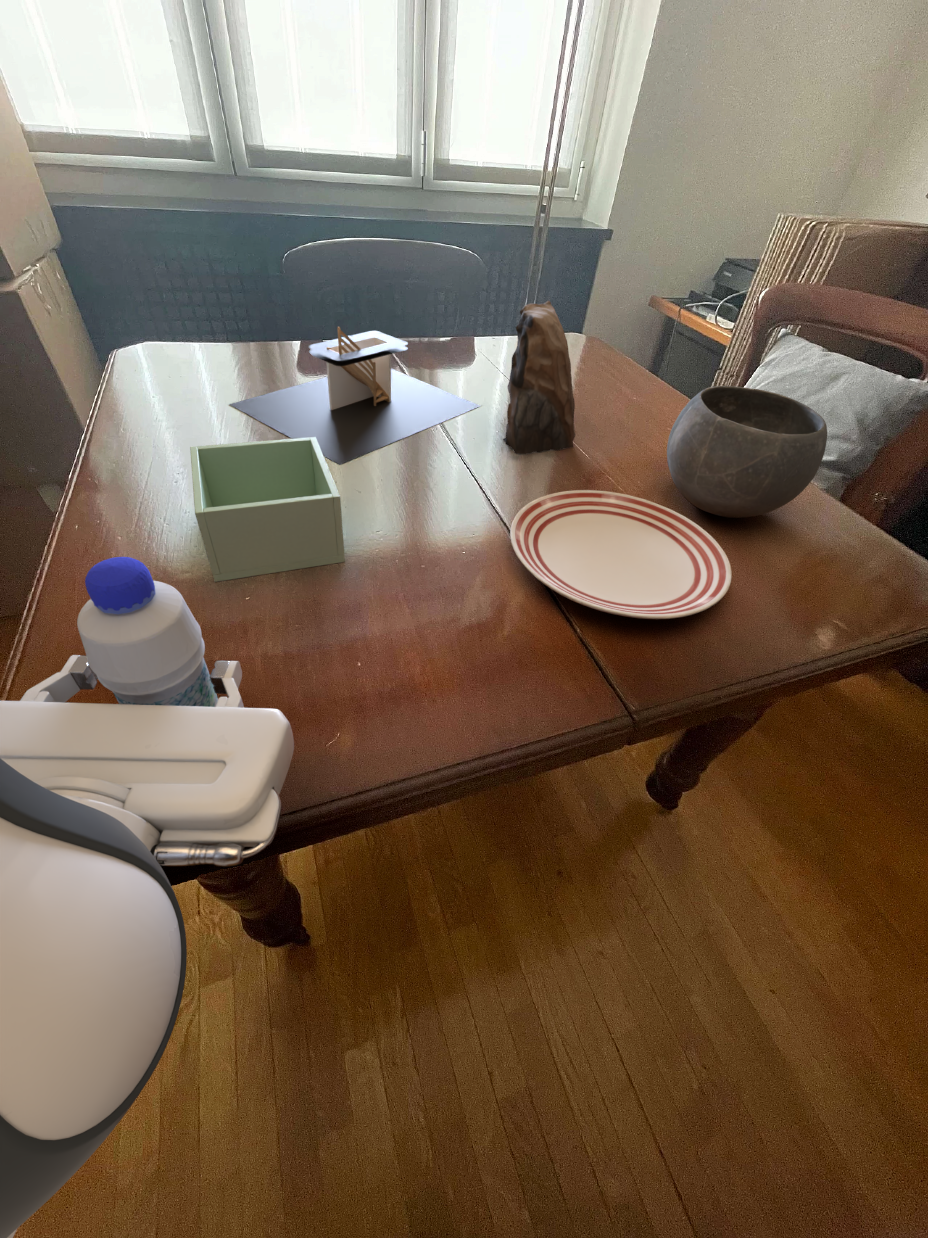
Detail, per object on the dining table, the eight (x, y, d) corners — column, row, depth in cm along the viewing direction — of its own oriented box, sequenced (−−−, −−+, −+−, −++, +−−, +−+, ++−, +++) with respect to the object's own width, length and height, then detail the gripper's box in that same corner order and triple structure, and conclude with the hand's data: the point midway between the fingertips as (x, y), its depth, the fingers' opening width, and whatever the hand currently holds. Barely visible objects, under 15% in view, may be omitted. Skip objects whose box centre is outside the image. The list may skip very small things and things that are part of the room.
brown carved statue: (512, 457, 89) (534, 323, 75) (478, 424, 97) (492, 298, 83) (576, 448, 94) (607, 320, 80) (538, 417, 102) (560, 296, 88)
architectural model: (339, 464, 82) (332, 366, 72) (229, 404, 94) (210, 312, 84) (481, 405, 103) (490, 324, 94) (376, 362, 115) (375, 285, 105)
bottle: (155, 732, 46) (56, 539, 33) (239, 717, 48) (179, 528, 35) (148, 803, 42) (30, 613, 28) (240, 783, 44) (172, 597, 30)
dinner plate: (475, 517, 75) (478, 496, 73) (640, 496, 84) (647, 476, 81) (571, 660, 57) (578, 638, 55) (768, 614, 66) (782, 593, 63)
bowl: (774, 486, 90) (824, 395, 80) (795, 555, 76) (859, 455, 65) (651, 460, 93) (684, 369, 83) (648, 522, 78) (687, 421, 68)
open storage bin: (214, 582, 61) (194, 513, 55) (207, 512, 70) (189, 446, 64) (345, 561, 65) (340, 496, 59) (321, 498, 75) (315, 436, 69)
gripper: (259, 839, 27) (307, 638, 37) (-200, 835, 25) (-18, 625, 35) (277, 888, 31) (316, 696, 41) (-113, 888, 29) (27, 687, 39)
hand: (160, 663), depth 38 cm, fingers open, 8 cm apart
